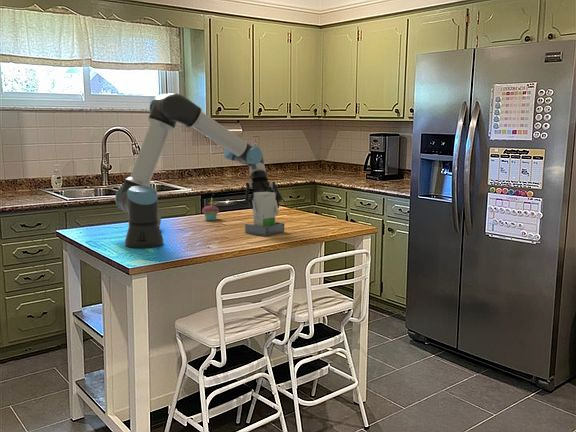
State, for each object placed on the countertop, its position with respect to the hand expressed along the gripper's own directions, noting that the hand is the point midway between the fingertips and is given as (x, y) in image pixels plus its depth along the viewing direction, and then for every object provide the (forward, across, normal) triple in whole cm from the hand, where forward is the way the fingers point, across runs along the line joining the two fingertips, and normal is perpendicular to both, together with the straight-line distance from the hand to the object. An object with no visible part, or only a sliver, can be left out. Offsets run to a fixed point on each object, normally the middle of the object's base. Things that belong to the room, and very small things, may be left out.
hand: (266, 213), depth 254 cm
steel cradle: (+4, 0, -9) cm, 10 cm away
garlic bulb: (-10, +49, -23) cm, 55 cm away
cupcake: (-22, +19, -35) cm, 46 cm away
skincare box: (+3, 0, -7) cm, 7 cm away
